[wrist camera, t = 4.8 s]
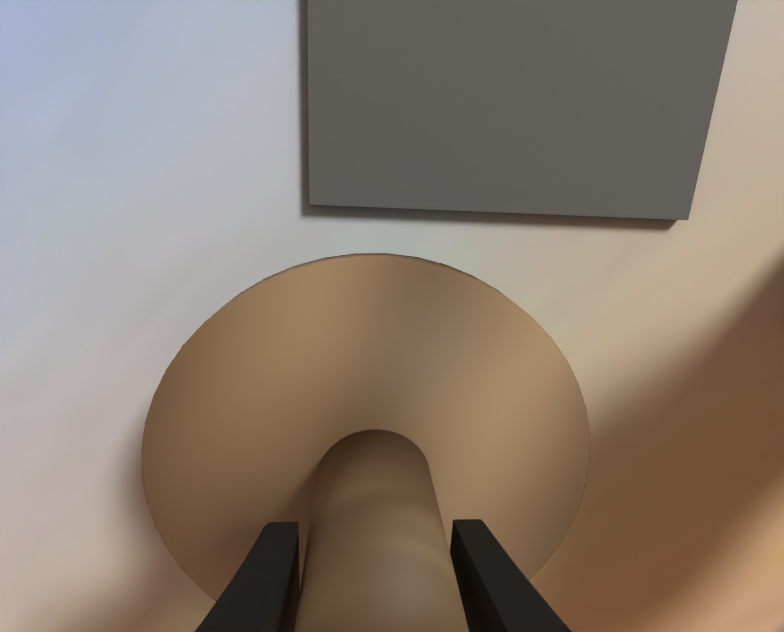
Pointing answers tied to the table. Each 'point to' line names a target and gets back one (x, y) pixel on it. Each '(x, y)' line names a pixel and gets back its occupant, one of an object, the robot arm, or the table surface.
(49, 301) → the table surface
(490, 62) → the mat
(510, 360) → the lid
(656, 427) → the table surface
